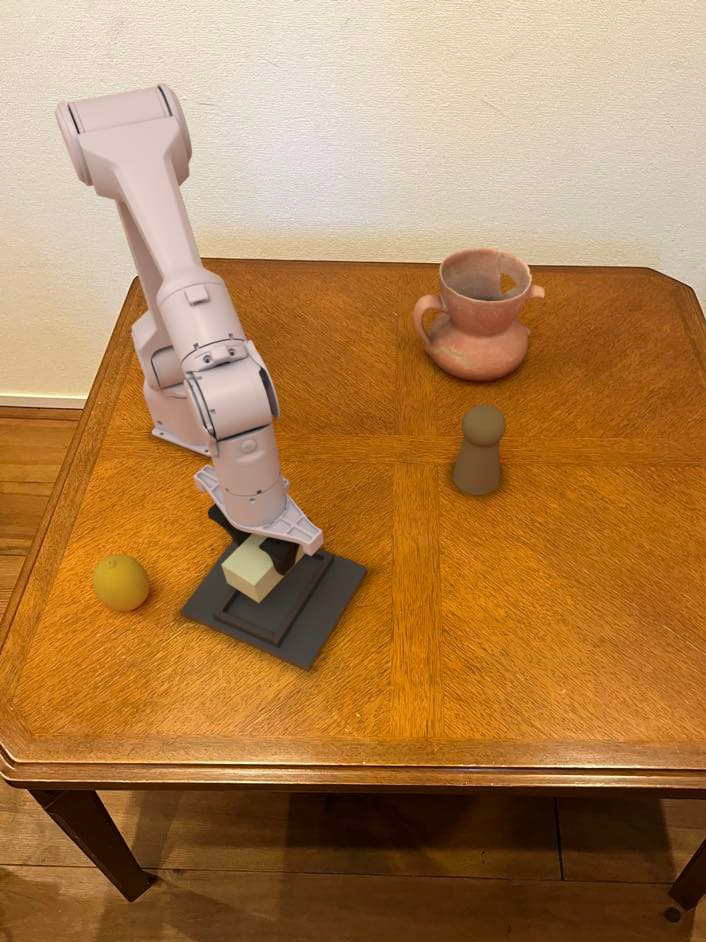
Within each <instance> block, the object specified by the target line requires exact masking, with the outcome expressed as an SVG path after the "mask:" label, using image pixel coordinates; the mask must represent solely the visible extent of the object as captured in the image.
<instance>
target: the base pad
mask: <svg viewBox="0 0 706 942" xmlns="http://www.w3.org/2000/svg"><path fill="white" fill-rule="evenodd" d="M237 548H238V546H237V544H236V543H235V541H234V540H233V539H232V541H231V542H230V543H229V545H228V546H227V547H226V549H225V550H224V552H223V553H222V554H221V555H220V557H219V558H218V560H217V561H216V562H215V564H214V565H213V567H212V568H211V569H210V571H209V572H208V573H207V574H206V576H205V577H204V578H203V580H202V581H201V582H200V584H199V585H198V587H197V588H196V589H195V591H193V593H192V595H191V596H190V598H189V599H188V600H187V601H186V603H185V604H184V606H182V608H181V610H180V611H179V612H180V613H181V616H182V617H183V618H187V619H189V620H191V621H194V622H196V623H198V624H200V625H203V626H204V627H206V628H209V629H211V630H214V631H215V632H218V633H221V634H223V635H225V636H227V637H230V638H231V639H234V640H236V641H239V642H241V643H243V644H246V645H247V646H249V647H251V648H254V649H256V650H259V651H261V652H263V653H265V654H268V655H270V656H272V657H274V658H276V659H279V660H281V661H282V662H285V663H288V664H290V665H292V666H294V667H296V668H299V669H301V670H303V671H306V672H307V673H309V672H310V671H311V669H312V667H313V666H314V664H315V662H316V660H317V659H318V657H319V656H320V654H321V652H322V651H323V648H324V647H325V645H326V644H327V642H328V640H329V638H330V637H331V635H332V633H333V632H334V630H335V628H336V626H337V625H338V624H339V621H340V620H341V618H342V616H343V615H344V613H345V612H346V610H347V608H348V606H349V605H350V603H351V601H352V599H353V598H354V596H355V595H356V593H357V591H358V589H359V588H360V587H361V584H362V583H363V581H364V579H365V578H366V576H367V574H368V572H369V571H368V567H367V566H365V565H362V564H359V563H357V562H354V561H352V560H349V559H347V558H345V557H342V556H339V555H337V554H335V553H332V552H330V551H327V550H324V549H323V548H321V547H320V548H319V549H318V550H317V551H316V552H315V553H314V554H313V555H312V556H310V555H308V554H306V553H305V554H304V555H303V556H302V557H301V558H300V560H299V561H298V562H297V563H296V564H295V565H294V566H293V567H292V568H291V569H290V570H289V571H288V572H287V574H286V575H285V576H284V577H283V578H282V579H281V580H280V581H279V582H278V583H277V584H276V585H275V586H274V588H273V589H272V590H271V591H270V592H269V593H268V594H267V595H266V596H265V597H264V598H263V599H262V600H261V602H260V603H258V602H257V601H255V600H253V599H252V598H250V597H249V596H247V595H246V594H244V593H242V592H241V591H239V590H238V589H236V588H235V587H233V586H231V585H230V584H228V583H227V580H226V577H225V574H224V571H223V568H222V563H223V562H224V561H225V560H226V559H227V558H228V557H229V556H230V555H231V554H232V553H233V552H234V551H235V550H236V549H237Z"/></svg>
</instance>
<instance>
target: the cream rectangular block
mask: <svg viewBox="0 0 706 942" xmlns="http://www.w3.org/2000/svg"><path fill="white" fill-rule="evenodd" d="M266 538H267V536H263V535H258V534H254V533H252V534H251V535H250V536H249V537H248V538H247V539H246V540H245V541H244V542H243V543H242V544H241V545H240V546H239V547H238V548H237V549H236V550H235V551H234V552H233V553H232V554H231V555H230V556H229V557H228V558H227V559H226V560H225V561H224V562H223V563H222V568H223V571H224V574H225V577H226V580H227V583H228V584H230V585H231V586H233V587H235V588H236V589H238V590H239V591H241V592H242V593H244V594H246V595H247V596H249V597H250V598H252V599H253V600H255V601H257V602H258V603H260V602H261V600H262V599H263V598H264V597H265V596H266V595H267V594H268V593H269V592H270V591H271V590H272V589H273V588H274V586H275V585H276V584H277V583H278V582H279V581H280V580H281V579H282V578H283V577H284V576H285V575H286V574H287V573H286V574H285V575H284V576H282V575H280V574H279V573H278V572H277V571H276V569H275V568H274V565H273V562H272V560H271V558H270V557H269V555H268V554H267V553H266V552H264V551H262V550H261V549H259V545H260V544H261V543H262V542H263V541H264V540H265V539H266ZM304 554H305V552H304V551H303V546H302V545H301V544H300V546H299V549H298V552H297V556H296V561H295V564H296V563H297V562H298V561H299V560H300V558H301V557H302V556H303V555H304Z"/></svg>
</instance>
